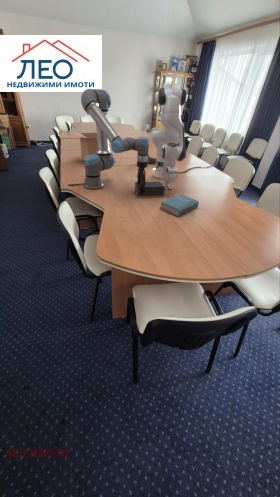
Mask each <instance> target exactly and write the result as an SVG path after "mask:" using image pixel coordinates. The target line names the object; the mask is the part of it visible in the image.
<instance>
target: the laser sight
mask: <svg viewBox="0 0 280 497" xmlns="http://www.w3.org/2000/svg"><path fill="white" fill-rule="evenodd" d="M156 159H157V157H151V156H150V155H149V154H148V161H147V162H148V163H147V165H148V164H150V165H155V164H156Z"/></svg>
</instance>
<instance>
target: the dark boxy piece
mask: <svg viewBox="0 0 280 497" xmlns="http://www.w3.org/2000/svg"><path fill="white" fill-rule="evenodd" d="M145 183H146V185H145V187H144V194H140V190H141V182H138V181H135V182H134V193H135V196H136V197H137V198H162V197H163V196H164V195H163V190H164V186H165V185H164V184H163V183H162V182H161V181H145ZM161 183H162V184H163V185H164V186H163V185H162V184H161Z"/></svg>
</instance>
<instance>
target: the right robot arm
mask: <svg viewBox="0 0 280 497" xmlns="http://www.w3.org/2000/svg"><path fill="white" fill-rule="evenodd" d="M187 99H188V92H187V90H186V89H185V88H178V87H161V88H159V89H158V90H157V94H156V102H157V104H158V105H160V106H162V107H161V112H160V113H161V114H160V124H161V126H163V127H164V128H165V129H166V130H163V129H154V130H152V131H151V132H150V135H149V141H150V142H151V143H152V144H153V145H154V147H155V150H156V158H157V159H156V164H154V168H152V170H153V175H152V176H153V177H154V178H156V179H162V180H164V182H165V183H164V186H169V187H170V185H169V184H171V185H172V184H174V183H175V180H176V178H177V174H184V173H187V172H188V171H190V170H192V169H197V168H200V166H193V167H191V168H188V169H187V170H185V171H181V172H179V171H178V170H177V162H178V161H179V162H182V161H184V160H185V159H186V156H187V148H186V136H185V135H186V134H185V125H184V123H183V122H182V119H181V107H182V106H184V105H185V104H186V102H187V101H188V100H187ZM213 166H214V165H213V164H210V165H209V166H208V168H211V167H213Z"/></svg>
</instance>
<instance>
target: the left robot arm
mask: <svg viewBox="0 0 280 497" xmlns="http://www.w3.org/2000/svg"><path fill="white" fill-rule="evenodd" d="M80 102H81V106H82V108H83V110H84V111H85V113H86V114H87V115H88V116H90V117H91V118H92V119H93V121H94V122H95V129H96V130H95V132H97V141H98V151H97V154H90V155H87V156H86V157H85V159H84V160H83V163H84V171H85V172H84V173H85V178H84V181H83V183H75V184H74V183H73V184H72V183H71V184H67V185H68V186H69V187H70V186H71V187H72V186H83V187H84V188H86V189H88V190H98V189H102V188H103V187H104V181H103V178H102V176H101V172H104V171H106V170H110V169H112V168H113V167H114V166H115V163H116V160H115V156H114V154H122V153H124V152H128V151H136V152H137V156H136V160H137V161H136V167H137V175H136V178H137V182H141V190H140V194H144V187H145V185H146V183H145V182H146V175H147V174H146V173H147V171H146V168H148V162H147V161H148V155H149V149H150V137H147V136H139V137H138V138H134V137H131V136H129V137H128V136H125V137H124V139H123V138H122V137H121V136H120V135H119V133H118V132H117V130H116V129H115V127H114V126H113V125H112V123H111V122H110V121H109V119H108V114H109V109H110V108H111V105H112V98H111V95H110V94H109V92H108V91H107V90H106V89H105V90H104V89H101V88H100V89H99V88H87V89H85V90H83V91H82V92H81V97H80ZM110 144H111V145H110ZM110 148H111V150H110ZM112 152H113V153H114V154H113V153H112Z"/></svg>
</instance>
